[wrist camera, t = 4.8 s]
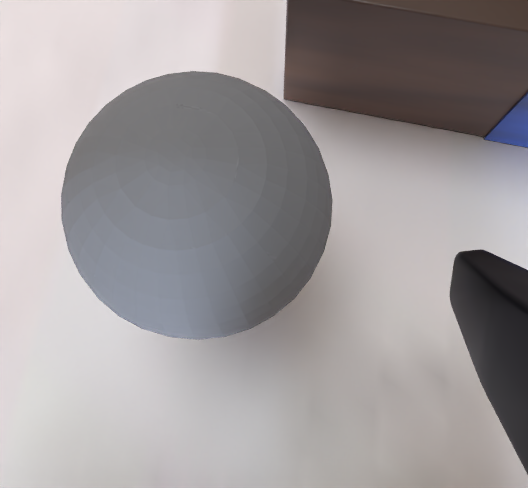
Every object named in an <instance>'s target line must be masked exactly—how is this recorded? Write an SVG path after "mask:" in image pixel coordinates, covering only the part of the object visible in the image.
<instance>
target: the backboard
mask: <svg viewBox="0 0 528 488" xmlns="http://www.w3.org/2000/svg"><path fill="white" fill-rule="evenodd" d="M284 99H286V100H292V101H297V102H302V103H308V104H313V105H319V106H324V107H329V108H335V109H340V110H345V111H351V112H356V113H361V114H367V115H372V116H377V117H383V118H388V119H394V120H399V121H404V122H410V123H415V124H420V125H426V126H431V127H436V128H442V129H447V130H453V131H458V132H463V133H469V134H474V135H479V136H485V137H484V139H485V140H490V141H496V142H501V143H506V144H512V145H517V146H522V147H528V0H287V16H286V44H285V72H284Z"/></svg>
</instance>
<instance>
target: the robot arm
mask: <svg viewBox="0 0 528 488" xmlns="http://www.w3.org/2000/svg"><path fill="white" fill-rule="evenodd" d="M450 301H451V305H452V308H453V311H454V313H455V316H456V319H457V321H458V324H459V327H460V329H461V332H462V335H463V337H464V340H465V343H466V345H467V348H468V351H469V353H470V356H471V359H472V361H473V364H474V367H475V369H476V372H477V374H478V377H479V379H480V382H481V384H482V386H483V388H484V390H485V392H486V395H487V397H488V399H489V401H490V402H491V404H492V406H493V408H494V410H495V412H496V414H497V416H498V418H499V420H500V422H501V424H502V426H503V428H504V430H505V432H506V433H507V435H508V437H509V439H510V441H511V443H512V445H513V447H514V449H515V451H516V453H517V455H518V457H519V459H520V461H521V463H522V464H523V466H524V468H525V470H526V472H527V474H528V270H526V269H524V268H522V267H520V266H518V265H516V264H513V263H511V262H509V261H507V260H505V259H502V258H500V257H498V256H496V255H494V254H492V253H489V252H487V251H485V250H472V251H463V252H459V253H458V254H457V255H456V257H455V260H454V266H453V273H452V280H451V287H450Z"/></svg>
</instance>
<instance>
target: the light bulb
mask: <svg viewBox="0 0 528 488" xmlns="http://www.w3.org/2000/svg"><path fill="white" fill-rule="evenodd" d="M61 208H62V223H63V227H64V232H65V236H66V241H67V245H68V249H69V252H70V254H71V256H72V258H73V260H74V263H75V265H76V267H77V269H78V271H79V273H80V275H81V276H82V278H83V279H84V280H85V282H86V283H87V284H88V286H89V287H90V288H91V290H92V291H93V292H94V293H95V295H96V296H97V297H98V299H99V300H101V301H102V302H103V303H104V304H105V305H106V306H108V307H109V308H110V309H111V310H112V311H113V312H115V313H116V314H117V315H118V316H120V317H122V318H124V319H125V320H127V321H129V322H131V323H133V324H135V325H136V326H138V327H140V328H142V329H145V330H149V331H152V332H155V333H159V334H162V335H165V336H169V337H175V338H187V339H198V340H200V339H209V338H217V337H226V336H229V335H232V334H235V333H238V332H241V331H244V330H248V329H251V328H253V327H254V326H256V325H258V324H260V323H262V322H263V321H265V320H267V319H269V318H271V317H272V316H274V315H275V314H277V313H278V312H279V311H280V310H281V309H283V308H284V307H285V306H286V305H287V304H288V303H290V302H291V301H292V300H293V299H294V298H295V297H296V296H297V294H298V293H299V292H300V291H301V289H302V288H303V287H304V286H305V284H306V283H307V282H308V281H309V279H310V278H311V276H312V274H313V272H314V270H315V268H316V266H317V264H318V262H319V260H320V258H321V256H322V254H323V252H324V249H325V245H326V242H327V238H328V234H329V230H330V227H331V213H332V196H331V189H330V182H329V176H328V173H327V170H326V167H325V164H324V162H323V159H322V156H321V153H320V151H319V148H318V146H317V145H316V143H315V141H314V140H313V138H312V137H311V135H310V133H309V132H308V130H307V129H306V127H305V126H304V125H303V123H302V122H301V121H300V120H299V119H298V118H297V117H296V116H295V115H294V114H293V113H292V112H291V110H290V109H289V108H288V107H287V106H286V105H285V104H283V103H282V102H280V101H279V100H278V99H276V98H275V97H273V96H272V95H271V94H269V93H268V92H266V91H265V90H263V89H261V88H259V87H256V86H254V85H252V84H250V83H248V82H245V81H243V80H241V79H239V78H235V77H231V76H227V75H223V74H219V73H211V72H196V71H191V72H182V73H173V74H167V75H163V76H160V77H156V78H153V79H149V80H146V81H144V82H142V83H140V84H138V85H136V86H134V87H132V88H130V89H128V90H126V91H124V92H123V93H122V94H120V95H119V96H117V97H116V98H115V99H113V100H112V101H111V102H109V103H108V104H107V105H105V106H104V108H103V109H102V110H101V111H100V112H99V113H98V114H97V115H96V116H95V117H94V118H93V119H92V120H91V121H90V122H89V124H88V125H87V127H86V128H85V130H84V131H83V133H82V134H81V136H80V138H79V139H78V141H77V142H76V144H75V147H74V149H73V152H72V154H71V157H70V159H69V162H68V164H67V168H66V172H65V178H64V183H63V188H62V194H61Z"/></svg>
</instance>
